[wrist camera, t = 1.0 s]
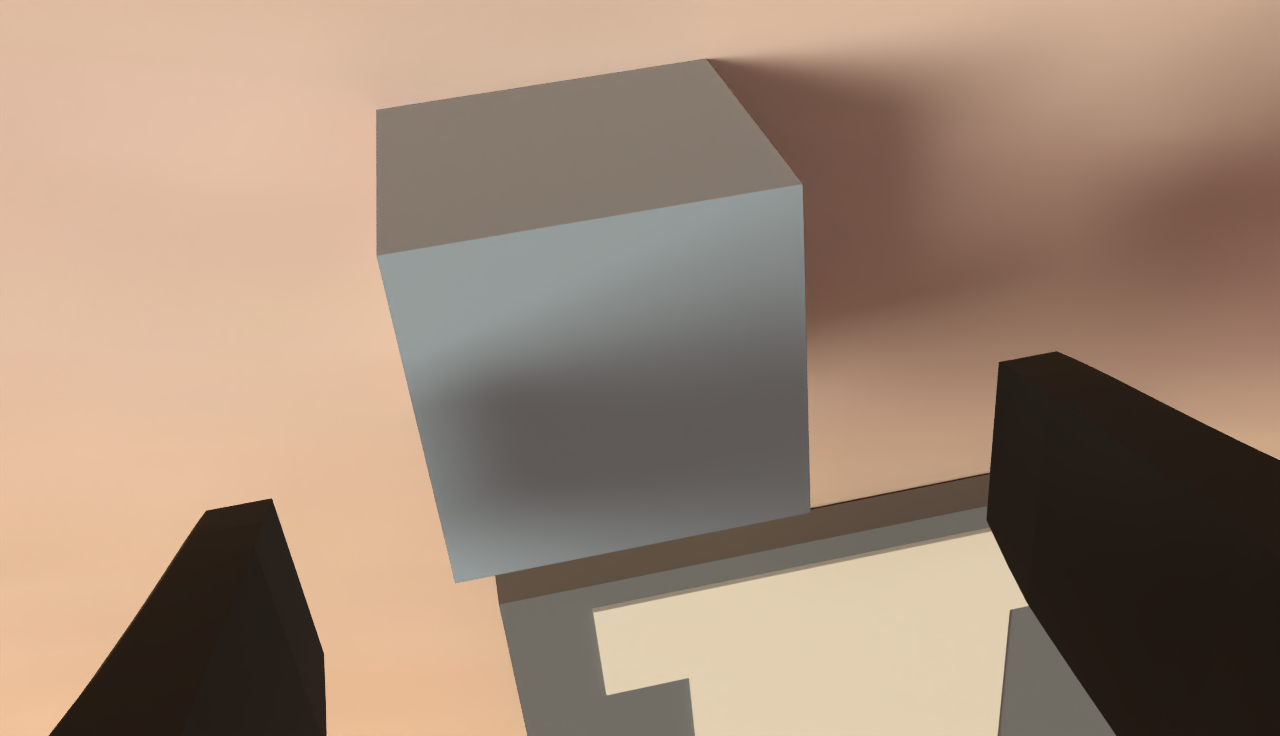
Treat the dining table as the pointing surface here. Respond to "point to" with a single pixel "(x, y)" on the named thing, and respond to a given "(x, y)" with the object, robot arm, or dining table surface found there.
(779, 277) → the slate cube
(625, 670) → the letter card
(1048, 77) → the dining table surface
